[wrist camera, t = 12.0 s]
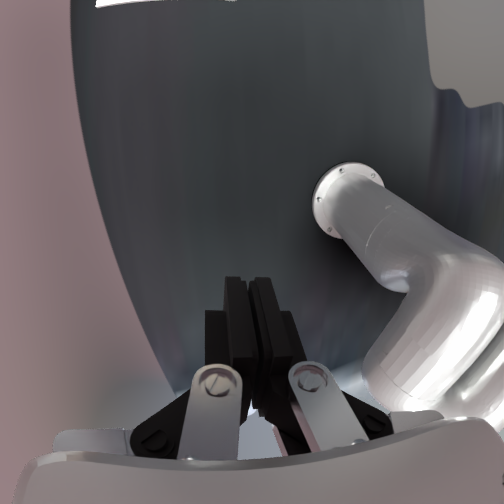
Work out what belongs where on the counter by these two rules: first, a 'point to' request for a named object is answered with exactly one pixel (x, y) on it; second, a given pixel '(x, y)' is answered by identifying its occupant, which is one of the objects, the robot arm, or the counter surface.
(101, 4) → the mat
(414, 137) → the counter surface
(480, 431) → the robot arm
